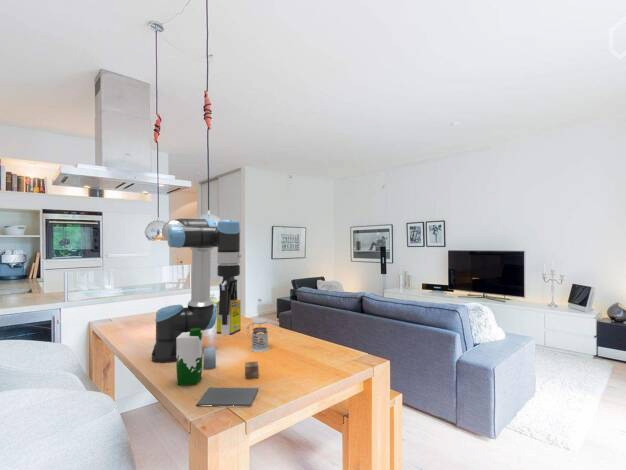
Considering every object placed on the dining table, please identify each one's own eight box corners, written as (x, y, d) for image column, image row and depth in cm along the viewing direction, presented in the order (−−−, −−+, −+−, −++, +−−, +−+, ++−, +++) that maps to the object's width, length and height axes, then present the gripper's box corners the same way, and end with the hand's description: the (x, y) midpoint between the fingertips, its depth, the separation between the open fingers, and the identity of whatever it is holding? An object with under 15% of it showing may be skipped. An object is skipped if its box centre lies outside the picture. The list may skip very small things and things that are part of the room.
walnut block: (245, 379, 129) (245, 367, 130) (245, 374, 134) (245, 362, 134) (258, 378, 131) (258, 365, 131) (257, 373, 135) (257, 361, 136)
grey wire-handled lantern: (265, 352, 161) (265, 300, 161) (243, 350, 163) (243, 299, 163) (272, 346, 170) (272, 297, 171) (251, 344, 173) (250, 296, 173)
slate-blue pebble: (201, 369, 140) (201, 350, 140) (205, 365, 145) (205, 346, 145) (213, 369, 140) (213, 350, 140) (217, 365, 144) (217, 346, 145)
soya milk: (198, 385, 124) (198, 332, 124) (173, 386, 123) (173, 332, 124) (204, 376, 133) (204, 326, 133) (181, 377, 132) (181, 326, 132)
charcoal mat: (196, 406, 109) (196, 403, 109) (209, 389, 121) (209, 387, 121) (251, 406, 108) (251, 404, 108) (258, 390, 120) (258, 387, 120)
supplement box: (241, 330, 117) (240, 299, 117) (231, 335, 111) (231, 302, 111) (226, 329, 119) (226, 298, 119) (216, 334, 113) (216, 301, 113)
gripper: (231, 266, 105) (231, 339, 105) (246, 262, 125) (246, 323, 125) (208, 266, 105) (208, 339, 105) (226, 262, 125) (226, 323, 125)
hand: (228, 330), depth 115 cm, fingers closed on supplement box, 7 cm apart
